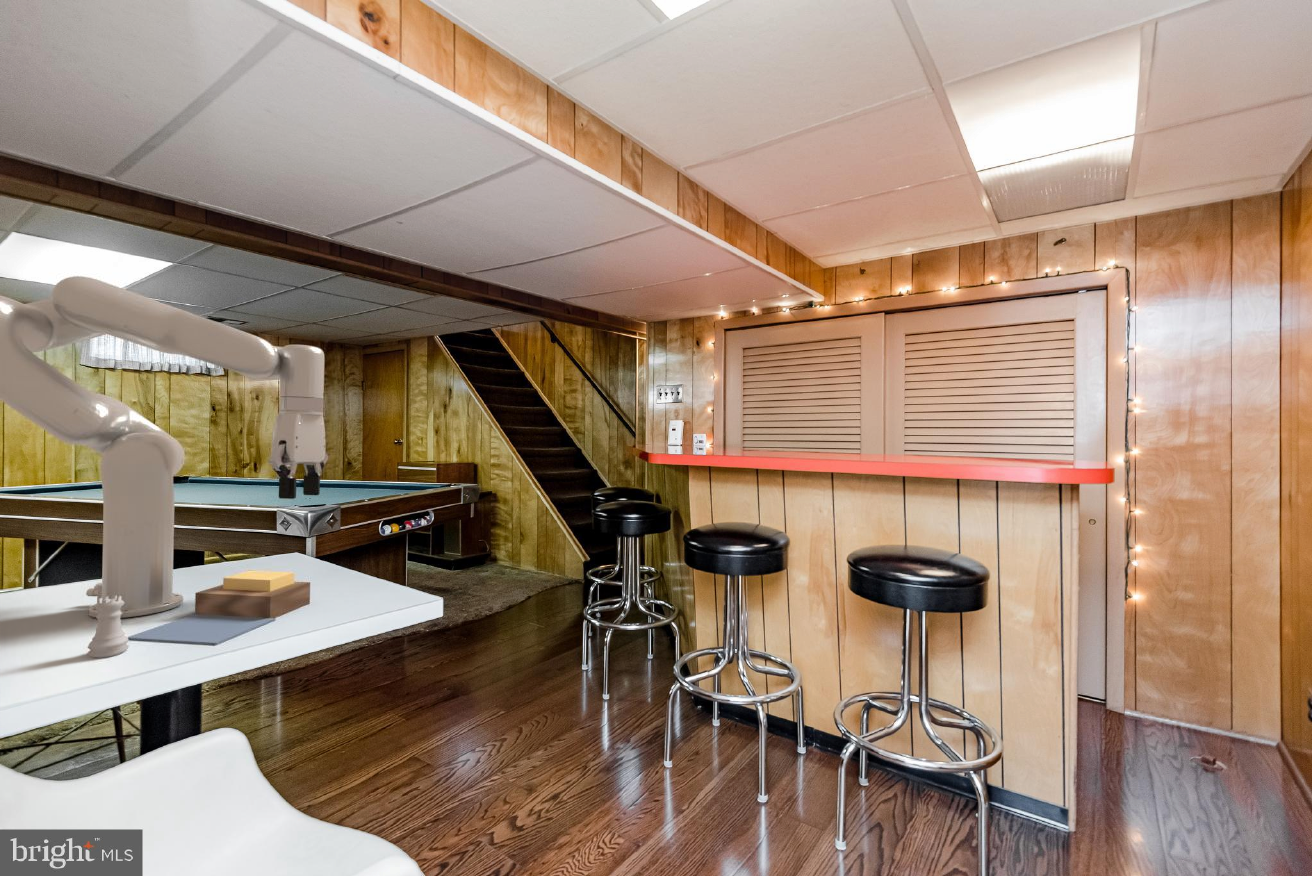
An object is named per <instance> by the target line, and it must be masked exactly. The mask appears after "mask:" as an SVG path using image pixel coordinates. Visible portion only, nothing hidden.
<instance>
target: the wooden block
mask: <svg viewBox="0 0 1312 876" xmlns="http://www.w3.org/2000/svg"><path fill="white" fill-rule="evenodd" d="M194 594H195V596H194V597H195V599H194V603H195V604H194V614H204V615H222V616H240V617H259V618H278V617H281V616H283V615H285V614H288V613H290V612H292V611H295V610H297V609H299V608H302V607H305V606H307V605H309V604H310V603H311V582H308V581H294V583H293V584H290V585H287V586H284V587H281V588H279V589H276V590H273V591H252V590H232V589H223V584H220V585H217V586H213V587H211V588H207V589H204V590H200V591H197V592H195V593H194Z"/></svg>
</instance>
